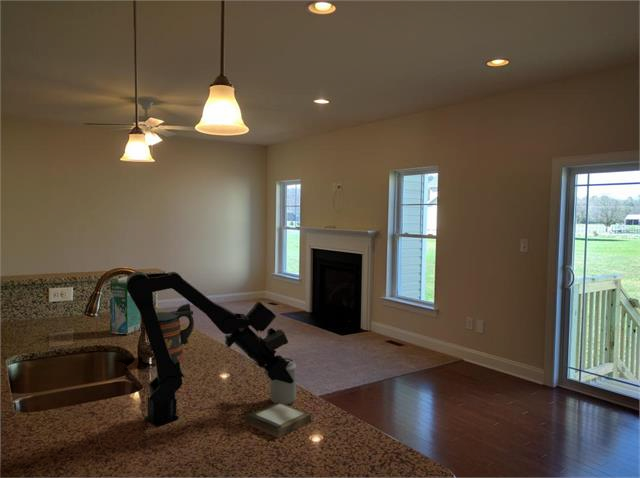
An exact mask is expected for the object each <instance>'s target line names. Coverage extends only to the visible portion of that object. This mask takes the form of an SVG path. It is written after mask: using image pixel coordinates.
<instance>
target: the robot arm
mask: <svg viewBox="0 0 640 478" xmlns="http://www.w3.org/2000/svg"><path fill="white" fill-rule="evenodd" d="M127 276H128V278H127V280H126V285H127V290H128V292H129V294H130V296H131V298H132V300H133V301H134V303H135V305H136V306H137V308H138V310H139V311H140V318H141V320H142V323H143V327H144V326H145V330H146V333H147V336H148V339H149V342H150V345H151V348H152V351H153V354H154V357H155V365H154V366H155V371H156V377H154V378H153V379H152V381H150V383H148V389H149V394H150V396H148V397H147V406H146V408H147V409H146V410H147V413H146V414H147V415H146V416H145V417H143V419H144V421H146V422H148V423H149V424H151V425H153V426H155V427H160V426H162V425H163V426H164V425H165V424H168V423H170V422H173V421H176V420H179V416H178V415H177V411H178V409H177V406H178V405H177V403H178V402H177V398H176V392H178V391H179V389H180V388H181V387H182V385H183V378H184V377H185V374H184V372H183V370H182V368H181V365H180V360H178V358H177V356H175V357H173V358H171V356H170V354H169V352H168V349H167V346H166V343H165V340H164V337H163V334H162V331H161V328H160V324H159V321H158V318H157V315H156V313H157V312H156V310H155V307H154V306H155V305H154V295H153V293H154V292H159V291H165V290H171V289H172V290H173V291H175V292H176V293H178V294H179V295H180V296H181V297H183V298H184V299H185V300H187V301H188V302H189V303H191V304H192V305H193V306H195V307H196V308H197V309H199V310H200V311H202V313H203V314H204V315H206V316H207V317H208V318H209V320H210V321H212V323H213V324H214V325H215V326H216V328H217V329H218V330H219V331H220V332H221V333H223V334H224V335H225V336H224V338H225V341H224V342H225V345H226V347H227V348H231V347H232V345H233V344H235V346H237V347H238V348H239V349H240V350H241V351H242V352H244V353H245V354H246V355H247V356H248V357H249V358H250V359H251V360H253V361H254V363H256V364H257V366H259V367H260V368H261V369H262V368H263V369H264V374H265V375H266V376H267V377H268V378H269V379H271V380H272V381H273V380H278V381H283V382H286V383H290V384H292V383H293V382H294V380H293V379H292V377H291V376H290V374H289V373H288V371H287V370H286V366H287V365H288V362H287V361H286V360H285V359H284V358H285V357H283V356H282V355H279V354H278V355H276V353H277V351H276V350H278V349H279V348H281V347H282V346H285V345H287V344H288V343H289V340H288V337H287V335H286V333H285V331H283V330H282V329H274V328H273V327H270V328H268V327H269V326H270V324H271V323H273V321H274V320H275V319H276V318H277V315H276V314H274V312H273V311H271V310H270V308H267V307H266V306H265V305H264V304H263V303H262V302H261V301H256V303H255V304H254V305H253V307H252V308H251V309H250V310H249V312H248V313H247V314H246V315H245V313H238V312H237V313H235V312H233V311H232V310H230V309H228V308H226V307H224V306H222V305H220V304H218V303H216V302H214V301H213V300H211V299H209V298H208V297H207V296H206V295H204V294H203V293H202V292H201V291H199V290H198V289H197V288H195V286H193V285H191V284H190V283H189V282H188V281H187V280H185V279H184V278H183V277H182V276H181V275H180V274H179V273H178V272H176V271H169V272H162V273H161V272H158V273H157V272H156V273H147V274H146V273H145V272H143V271H134V272H131V273H130V274H129V275H127ZM250 326H251V327H252V329H254V330H255V332H257V333H258V332H260V333H261V332H264V331H265V330H266V329H267V328H268V329H267V330H266V331H267V332H266V336H265V337H264V338H262V336H259V335H257V334H256V333H255V332H254V331H253V330H252V329H251V328H250Z"/></svg>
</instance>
